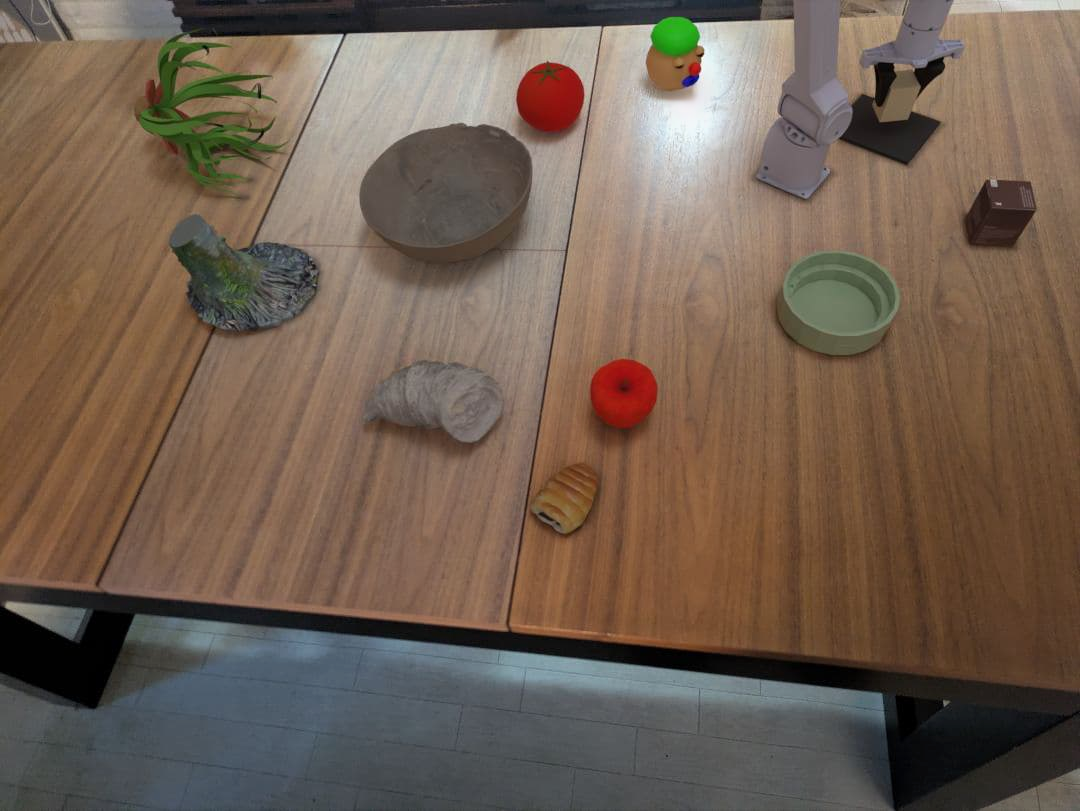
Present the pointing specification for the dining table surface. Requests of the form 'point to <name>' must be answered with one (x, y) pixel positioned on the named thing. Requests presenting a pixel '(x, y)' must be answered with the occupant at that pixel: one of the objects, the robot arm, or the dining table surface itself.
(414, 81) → the dining table surface
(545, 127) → the tomato
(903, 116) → the block
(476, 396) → the seashell
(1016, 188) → the box
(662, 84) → the figurine
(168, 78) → the decorative plant
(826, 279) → the green bowl
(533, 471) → the dining table surface
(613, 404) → the apple
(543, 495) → the pastry
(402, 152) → the bowl
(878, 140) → the mat
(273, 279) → the tree stump
